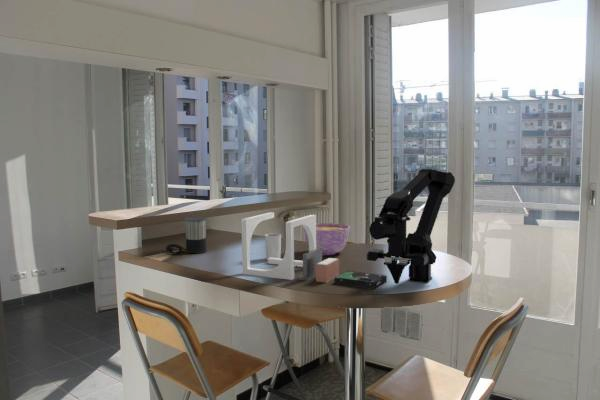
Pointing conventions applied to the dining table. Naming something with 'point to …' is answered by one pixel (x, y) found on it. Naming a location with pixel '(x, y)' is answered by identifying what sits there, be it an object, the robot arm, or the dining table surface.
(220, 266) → the dining table surface
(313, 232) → the white arched frame
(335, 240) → the bowl of food
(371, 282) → the disk drive
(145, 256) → the dining table surface
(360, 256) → the dining table surface
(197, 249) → the milk frother
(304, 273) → the metal plate
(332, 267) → the book
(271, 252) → the drinking glass
